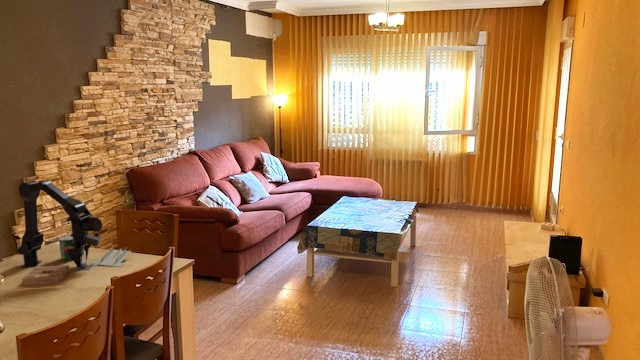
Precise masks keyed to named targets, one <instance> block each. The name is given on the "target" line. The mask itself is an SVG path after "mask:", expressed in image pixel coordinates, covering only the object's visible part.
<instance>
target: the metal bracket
mask: <svg viewBox="0 0 640 360" xmlns="http://www.w3.org/2000/svg"><path fill="white" fill-rule="evenodd" d="M113 248H114V247H113ZM113 248H112V247H111V248H110V249H109V250H108V251H107V252H106V253H104V254H103V255H102V256H101V258H100V259H99V260H97V259H95V260H94V261H92V262H91V265H93V266H94V267H98V266H103V267H104V266H105V267H113V268H121V267H123V266H124V265H125V263H124V260H125V259H126V258H127V257H128V256H129V255H130V254H131V253H132V251H130V250H129V251H128V249H124V250H123V249H122V248H119V249H113ZM93 266H92V267H93Z"/></svg>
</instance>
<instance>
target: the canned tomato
mask: <svg viewBox="0 0 640 360" xmlns="http://www.w3.org/2000/svg"><path fill="white" fill-rule="evenodd" d="M58 241H59V242H58V243H59V249H60V258H61V261H62V262H72V261H73V260H72V258H71V257H70V256H68V255H67V250H68V249H69V248H70V247H71V246H72V243H73V237H71V234H68V235H64V236H63V235H62V236H60V237H59V238H58ZM74 246H75V245H74ZM73 262H74V261H73Z"/></svg>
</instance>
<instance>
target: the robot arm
mask: <svg viewBox="0 0 640 360" xmlns="http://www.w3.org/2000/svg"><path fill="white" fill-rule="evenodd" d="M41 191H42V192H44V193H45V194H47V196H49V197H50V198H51V199H53V201H56V203H58V204H59V205H60V206H62V209H63V211H64V212H65V213H66V214H67V215H68V217H67V218H66V219H65V220H66V221H67V222H70V226H71V234H70V235H71V237H73V243H72V246H71V247H70V248H69V249H68V250H67V255H68V256H70V257H71V258H72V260H73V262H74V265H76V267H81V256H82V255H83V254H84V250H85V253H86V261H88V256H89V250H90V248H91V246H93V247H98V246H99V245H100V243H101V240H102V237H101V235H100V233H99V232H100V231H101V230H102V228H103V222H102V220H101V219H100V218H99V216H97V215H95V216H93V214H92V213H91V211H90V210H89V209H88V208H87V205H86V204H85V203H84V202H83V201H81V200H79V199H76V198H73V197H70V196H69V195H68V194H66V192H64V191H63V190H61V189H60V188H59V187H57V185H55V184H54V183H53V182H52V181H51V180H49V179H45V180H40V181H37V180H35V179H33V180H29V181H23V182H21V183H20V184H19V185H18V192H19V196H20V198H21V199H22V201H23V206H24V207H23V208H24V209H23V210H24V225H25V227H24V229H25V232H24V233H23V235H22V237H21V245H20V246H19V247H18V248H17V249H16V251H17V254H18V255H19V256H20V255H22V256H23V264H22V265H21V268H26V267H27V268H28V267H38V265H39V264H40V263H41V262H42V260H39V258H38V250H39V251H40V250H41V249H42V245H43V244H44V242H45V240H44V233H41V232H40V231H39V228H38V226H39V225H38V207H37V205H38V204H37V200H38V198H39V196H40V194H41ZM89 232H90V233H91V232H94V234H92V233H91V234H90V233H89ZM74 245H75V246H74Z"/></svg>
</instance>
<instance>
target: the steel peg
mask: <svg viewBox="0 0 640 360" xmlns="http://www.w3.org/2000/svg"><path fill="white" fill-rule="evenodd" d="M87 265H88V262H87V260H86V253H85V250H84V254H83V255H82V256H81V267H79V269H85V268H87Z"/></svg>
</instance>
